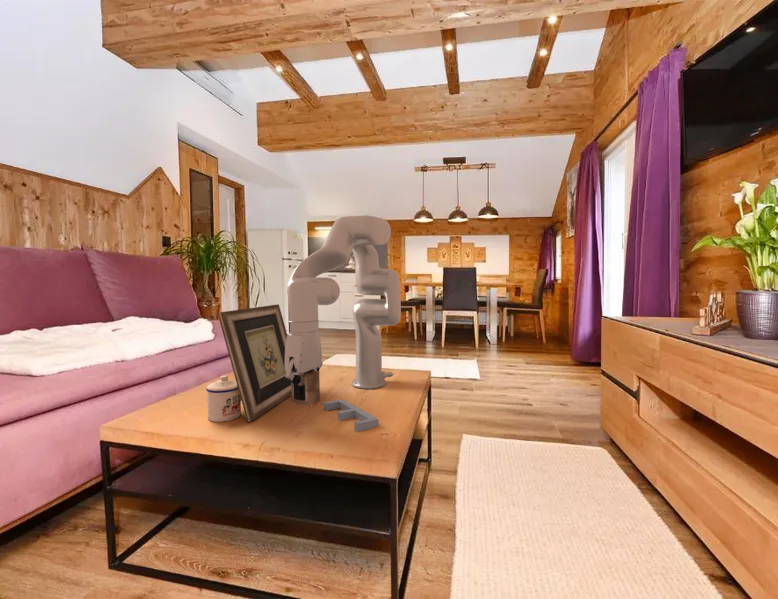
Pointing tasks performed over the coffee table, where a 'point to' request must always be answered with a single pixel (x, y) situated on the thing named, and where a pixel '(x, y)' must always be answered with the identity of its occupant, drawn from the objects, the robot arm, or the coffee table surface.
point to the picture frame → (257, 356)
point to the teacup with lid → (223, 400)
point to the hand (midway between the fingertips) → (305, 396)
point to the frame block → (309, 389)
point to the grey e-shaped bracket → (352, 414)
